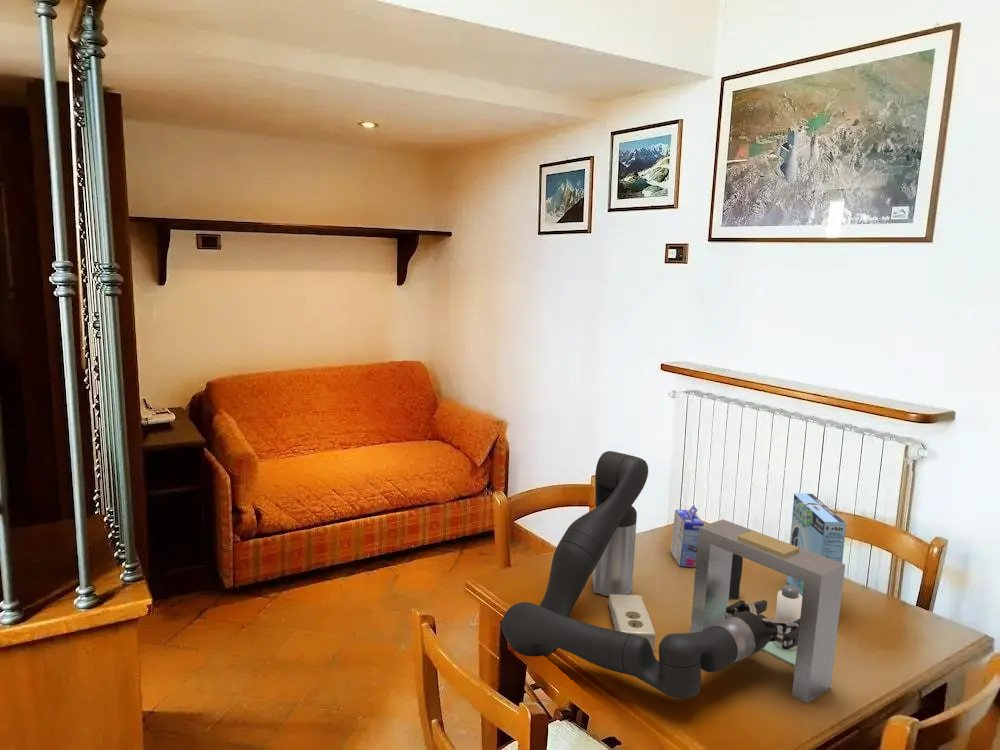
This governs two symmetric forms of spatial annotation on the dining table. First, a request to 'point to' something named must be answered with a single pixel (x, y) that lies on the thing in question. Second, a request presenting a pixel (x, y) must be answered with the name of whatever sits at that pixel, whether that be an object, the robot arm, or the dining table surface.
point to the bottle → (788, 609)
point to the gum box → (816, 530)
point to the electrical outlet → (631, 616)
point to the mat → (781, 653)
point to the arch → (785, 558)
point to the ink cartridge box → (685, 537)
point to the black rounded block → (735, 576)
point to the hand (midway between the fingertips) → (784, 613)
